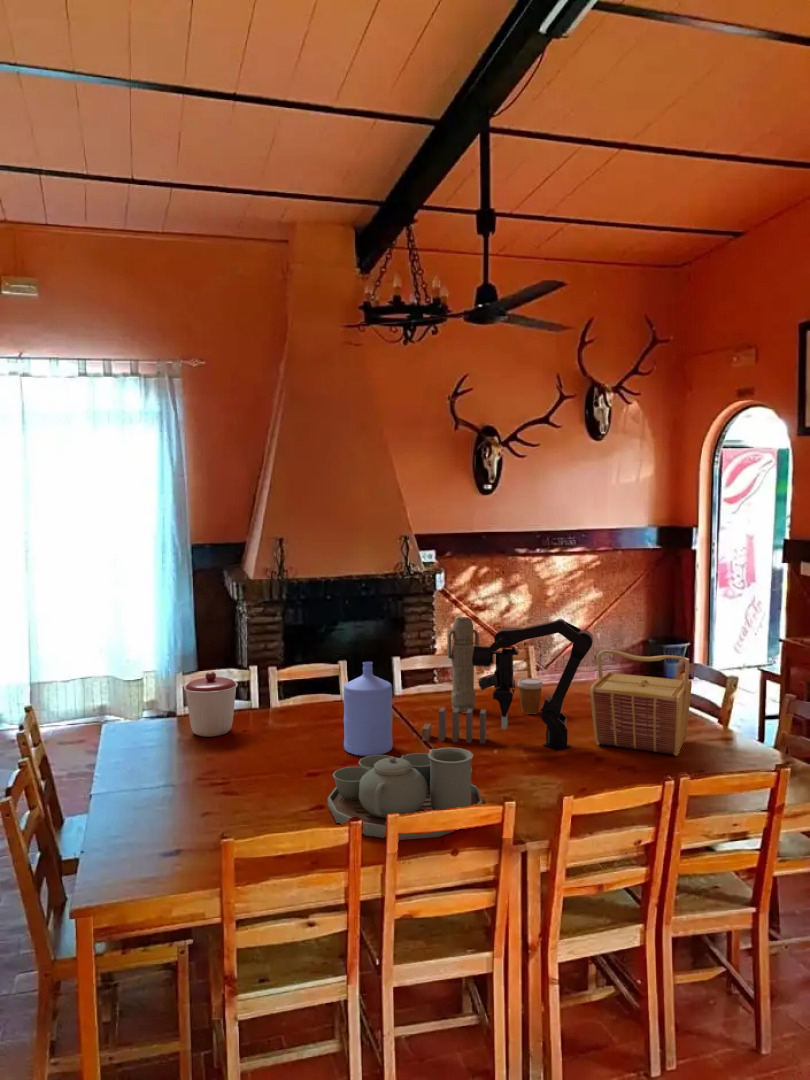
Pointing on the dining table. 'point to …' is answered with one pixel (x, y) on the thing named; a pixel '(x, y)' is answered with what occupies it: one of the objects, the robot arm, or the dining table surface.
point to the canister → (211, 704)
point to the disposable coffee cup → (530, 694)
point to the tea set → (403, 788)
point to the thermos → (462, 663)
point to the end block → (426, 732)
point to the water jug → (368, 714)
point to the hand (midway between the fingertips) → (504, 714)
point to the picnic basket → (641, 708)
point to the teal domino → (503, 722)
